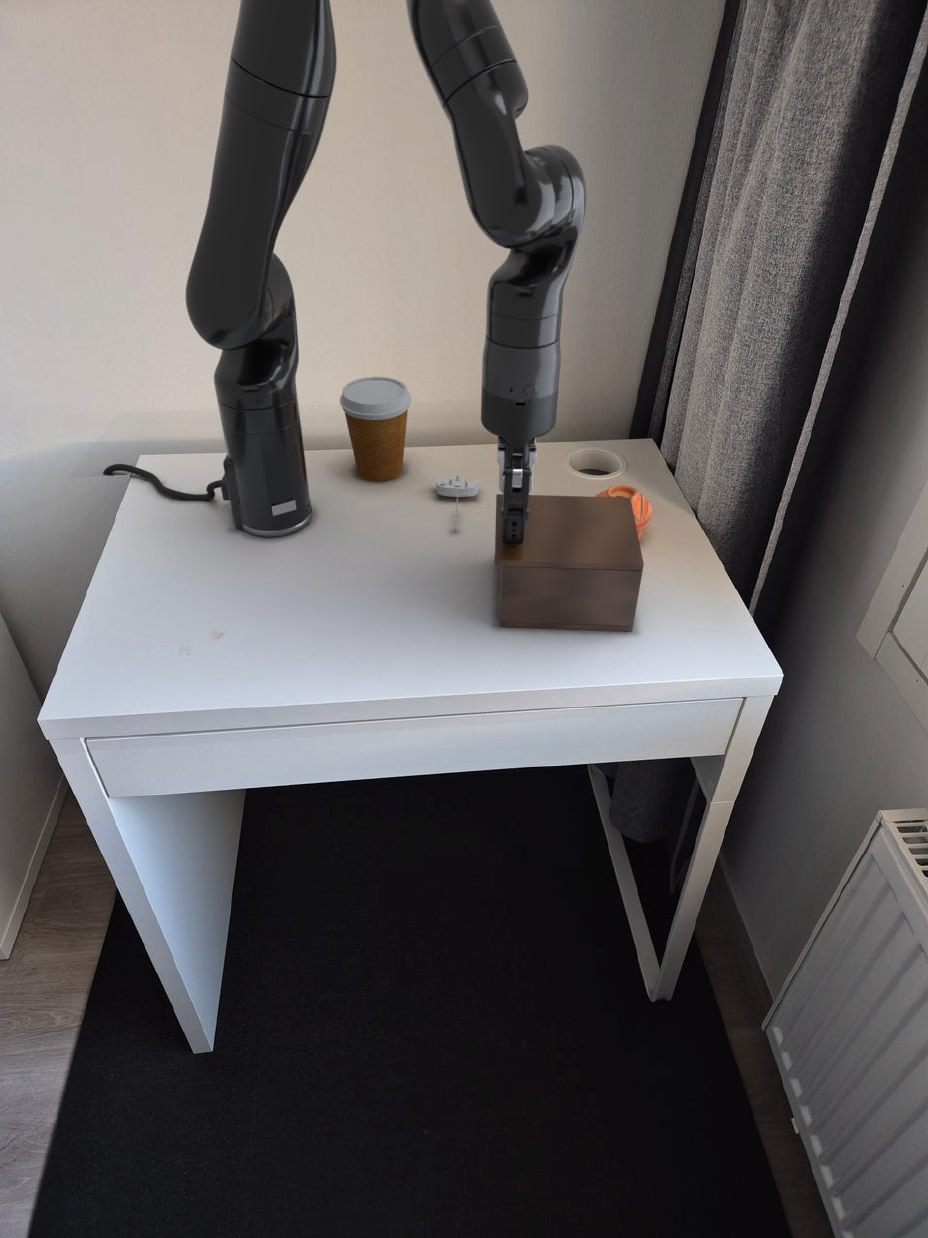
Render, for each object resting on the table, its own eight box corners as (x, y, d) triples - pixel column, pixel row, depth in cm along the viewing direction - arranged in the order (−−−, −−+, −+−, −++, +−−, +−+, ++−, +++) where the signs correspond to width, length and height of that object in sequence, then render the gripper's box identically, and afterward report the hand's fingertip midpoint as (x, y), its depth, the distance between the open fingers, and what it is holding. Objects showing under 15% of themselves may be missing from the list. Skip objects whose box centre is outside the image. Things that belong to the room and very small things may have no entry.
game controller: (472, 481, 120) (473, 464, 118) (497, 526, 111) (498, 509, 110) (432, 486, 118) (432, 469, 117) (454, 532, 110) (454, 515, 108)
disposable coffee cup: (337, 461, 124) (329, 381, 116) (400, 448, 127) (396, 370, 119) (358, 493, 117) (351, 411, 109) (423, 479, 120) (421, 398, 112)
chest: (499, 627, 96) (502, 566, 90) (500, 558, 106) (503, 499, 100) (632, 631, 95) (642, 570, 90) (620, 562, 105) (629, 503, 100)
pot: (606, 556, 106) (605, 503, 103) (579, 535, 112) (577, 485, 109) (664, 542, 108) (665, 490, 104) (634, 523, 114) (633, 474, 111)
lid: (494, 566, 90) (496, 519, 87) (496, 499, 100) (497, 455, 97) (642, 570, 90) (650, 523, 86) (629, 503, 100) (636, 458, 96)
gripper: (483, 349, 90) (480, 488, 100) (479, 411, 79) (476, 560, 89) (556, 351, 90) (545, 490, 100) (562, 414, 78) (549, 563, 89)
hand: (512, 523), depth 95 cm, fingers open, 7 cm apart
